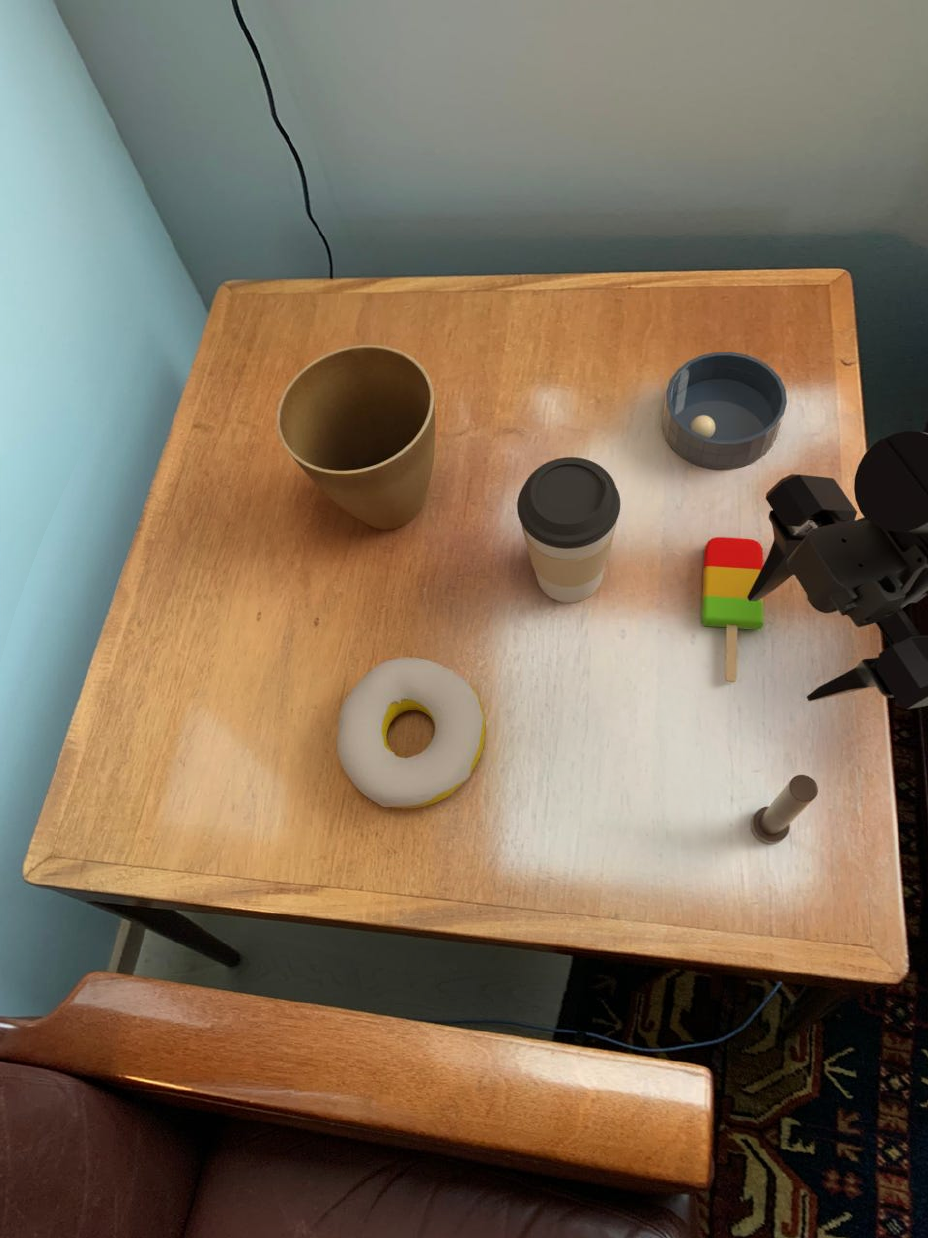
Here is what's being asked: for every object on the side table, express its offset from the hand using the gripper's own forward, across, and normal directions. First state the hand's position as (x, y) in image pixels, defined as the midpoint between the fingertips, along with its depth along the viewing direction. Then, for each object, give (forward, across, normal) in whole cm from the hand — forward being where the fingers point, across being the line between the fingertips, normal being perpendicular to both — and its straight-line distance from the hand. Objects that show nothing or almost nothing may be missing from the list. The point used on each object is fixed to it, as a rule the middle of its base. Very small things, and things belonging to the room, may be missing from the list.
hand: (780, 647), depth 68 cm
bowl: (+3, -30, +18) cm, 35 cm away
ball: (+3, -29, +14) cm, 32 cm away
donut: (+29, -9, -16) cm, 34 cm away
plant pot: (+25, -35, -12) cm, 45 cm away
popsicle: (+9, -9, +10) cm, 16 cm away
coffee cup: (+16, -19, 0) cm, 25 cm away
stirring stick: (+13, +10, +5) cm, 17 cm away
